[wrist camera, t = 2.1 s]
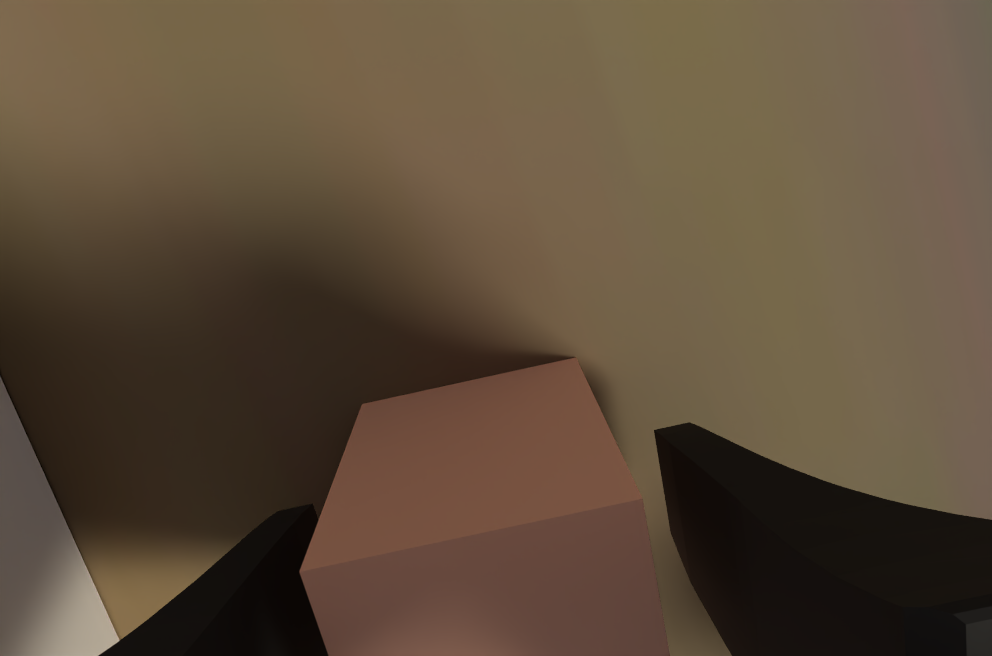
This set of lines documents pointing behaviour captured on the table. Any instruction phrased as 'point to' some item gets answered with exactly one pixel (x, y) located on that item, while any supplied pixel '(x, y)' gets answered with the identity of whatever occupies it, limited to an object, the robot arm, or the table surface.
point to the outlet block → (41, 561)
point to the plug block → (485, 527)
